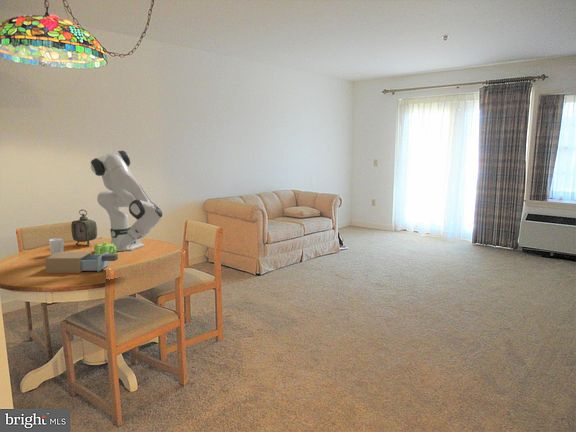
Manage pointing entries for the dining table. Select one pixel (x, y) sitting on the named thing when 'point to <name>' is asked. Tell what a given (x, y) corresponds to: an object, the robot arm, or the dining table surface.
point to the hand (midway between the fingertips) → (121, 248)
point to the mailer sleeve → (65, 262)
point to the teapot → (105, 248)
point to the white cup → (56, 245)
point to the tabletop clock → (84, 229)
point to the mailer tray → (97, 261)
